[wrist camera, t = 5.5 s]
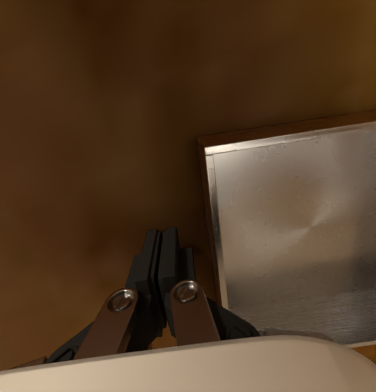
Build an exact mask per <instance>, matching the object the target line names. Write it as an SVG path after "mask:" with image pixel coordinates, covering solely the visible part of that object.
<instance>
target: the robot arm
mask: <svg viewBox="0 0 376 392" xmlns="http://www.w3.org/2000/svg"><path fill="white" fill-rule="evenodd" d="M167 321H168V325H169V327H170V331H171V335H172V336H173V337H175V338H176V343H177V346H175V347H168V348H160V349H152V346H153V345H152V342H153V341H154V339H155V338H156V337H162V330H163V328H166V325H167ZM0 392H376V364H374V363H373V362H372V361H370V360H369V359H368V358H366V357H365V356H363V355H362V354H360V353H358V352H356V351H355V350H353V349H351V348H348V347H346V346H343V345H340V344H338V343H335V342H334V341H333V340H332V339H331V338H330V337H328V336H326V335H324V334H322V333H318V332H312V331H301V330H291V329H280V328H270V327H265V330H259V329H256V328H255V327H254V326H253V325H251V324H250V323H248V322H247V321H245V320H244V319H242V318H240V317H239V316H237V315H235V314H234V313H232V312H230V311H229V310H227V309H225V308H224V307H222V306H221V305H219V304H217V303H216V302H214V301H212V300H211V299H209V298H207V297H206V295H205V293H204V290H203V287H202V285H201V284H200V283H199V282H198V281H196V275H195V266H194V259H193V252H192V247H190V248H182V249H180V244H179V238H178V233H177V228H176V227H172V228H167V231H164V232H163V237H162V233H161V232H158V230H150V231H147V235H146V238H145V242H144V246H143V250H142V253H141V254H139V255H135V257H134V260H133V263H132V266H131V269H130V272H129V275H128V279H127V282H126V285H125V288H122V289H119V290H117V291H115V292H113V293H112V294H111V295H110V296H109V297H108V298H107V300H106V301H105V303H104V305H103V306H102V308H101V310H100V312H99V313H98V315H97V317H96V319H95V321H93V322H92V323H91V324H90V325H88V326H87V327H86V328H84V329H83V330H82V331H80V332H79V333H78V334H77V335H75V336H74V337H73V338H71V339H70V340H69V341H67V342H66V343H65V344H64V345H62V346H61V347H60V348H58V349H57V350H56V351H55V352H54V353H53V354H52V355H51V356H50V357H49V358H48V359H47V357H46V356H45V357H42V358H39V359H36V360H33V361H30V362H28V363H25V364H22V365H19V366H16V367H13V368H11V369H8V370H4V371H0Z"/></svg>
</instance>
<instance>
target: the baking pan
mask: <svg viewBox="0 0 376 392" xmlns="http://www.w3.org/2000/svg"><path fill="white" fill-rule="evenodd" d="M196 140H197V148H198V156H199V164H200V172H201V180H202V188H203V196H204V204H205V212H206V220H207V228H208V236H209V244H210V252H211V260H212V268H213V276H214V284H215V292H216V300H217V304H219V305H221V306H222V307H224V308H225V309H227V310H229V311H230V312H232V313H234V314H235V315H237V316H239V317H240V318H242V319H244V320H245V321H247V322H248V323H250V324H251V325H253V326H254V327H255V328H256V329H259V330H265V327H270V328H280V329H291V330H301V331H312V332H318V333H322V334H324V335H326V336H328V337H330V338H331V339H332V340H333V341H334V342H335V343H338V344H340V345H343V346H346V347H348V348H353V347H360V346H368V345H375V344H376V110H370V111H363V112H357V113H350V114H344V115H337V116H331V117H324V118H318V119H311V120H305V121H298V122H291V123H285V124H278V125H272V126H265V127H259V128H252V129H246V130H239V131H233V132H226V133H220V134H213V135H207V136H200V137H196Z"/></svg>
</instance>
